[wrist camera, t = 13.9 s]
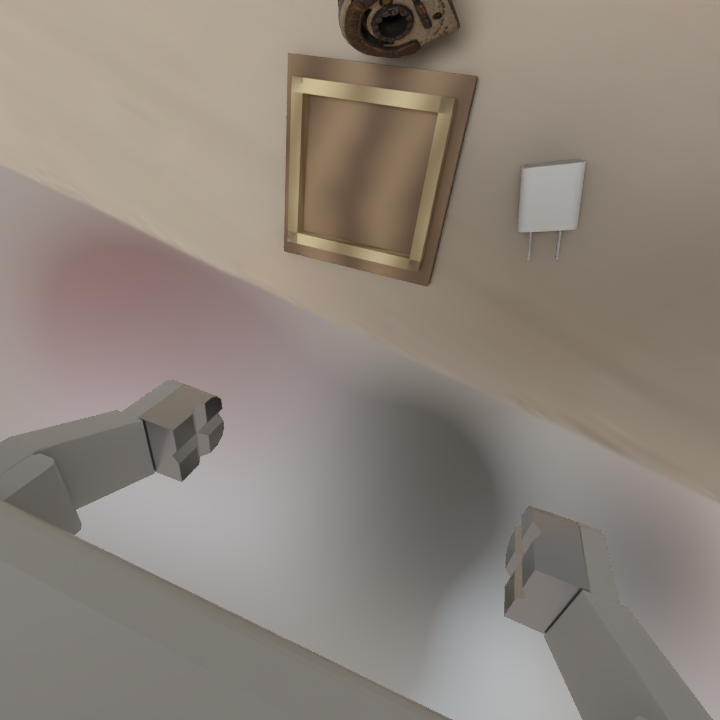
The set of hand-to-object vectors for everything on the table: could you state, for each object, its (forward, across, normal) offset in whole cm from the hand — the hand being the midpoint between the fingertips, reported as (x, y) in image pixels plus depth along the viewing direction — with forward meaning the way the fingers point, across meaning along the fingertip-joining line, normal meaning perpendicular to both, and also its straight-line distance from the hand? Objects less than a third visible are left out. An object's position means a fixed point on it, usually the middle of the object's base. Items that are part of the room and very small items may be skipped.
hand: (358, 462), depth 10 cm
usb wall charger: (+29, -5, -3) cm, 30 cm away
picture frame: (+29, +10, -3) cm, 31 cm away
